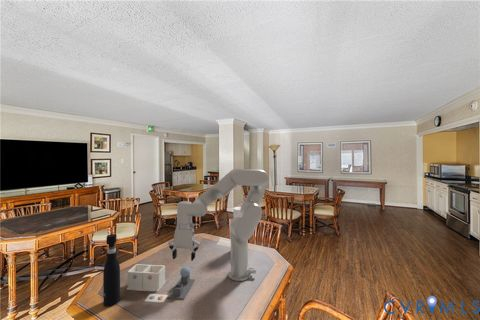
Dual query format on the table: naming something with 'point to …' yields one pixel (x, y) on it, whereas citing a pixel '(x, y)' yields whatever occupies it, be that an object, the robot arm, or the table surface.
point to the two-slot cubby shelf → (146, 277)
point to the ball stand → (181, 288)
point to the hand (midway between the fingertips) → (183, 258)
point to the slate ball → (185, 272)
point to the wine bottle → (111, 274)
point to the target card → (156, 298)
